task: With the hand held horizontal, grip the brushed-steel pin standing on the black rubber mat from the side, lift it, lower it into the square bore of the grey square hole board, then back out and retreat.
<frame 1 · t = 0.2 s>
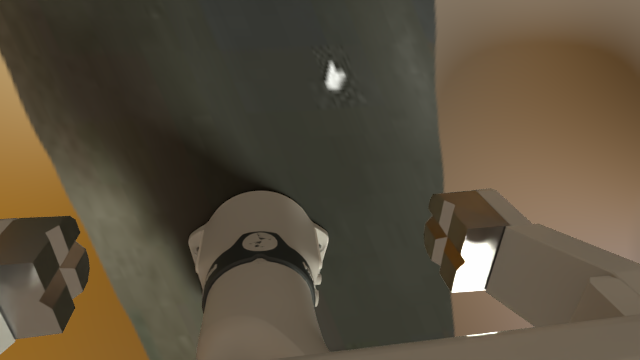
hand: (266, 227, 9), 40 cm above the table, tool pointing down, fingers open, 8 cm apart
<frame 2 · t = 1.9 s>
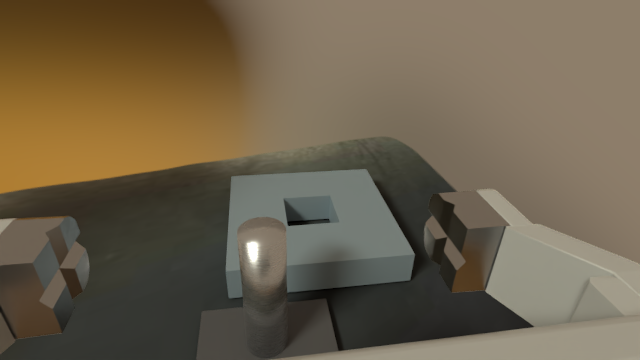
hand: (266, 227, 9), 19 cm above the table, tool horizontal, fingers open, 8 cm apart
grey square hole board: (309, 233, 41), on the table
steel pin: (267, 340, 29), resting on rubber mat
rubber mat: (267, 344, 29), on the table
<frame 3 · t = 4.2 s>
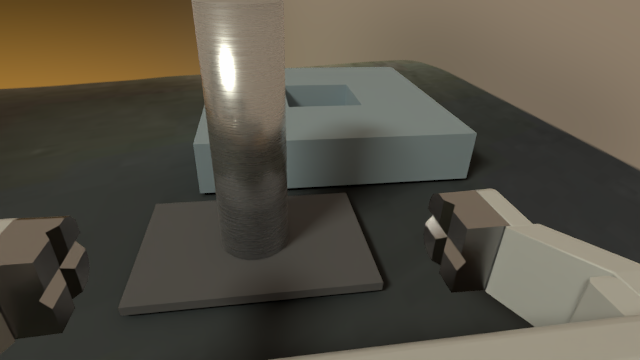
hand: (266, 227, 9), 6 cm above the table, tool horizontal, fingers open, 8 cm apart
grey square hole board: (318, 133, 30), on the table
steel pin: (255, 238, 18), resting on rubber mat
rubber mat: (256, 245, 18), on the table
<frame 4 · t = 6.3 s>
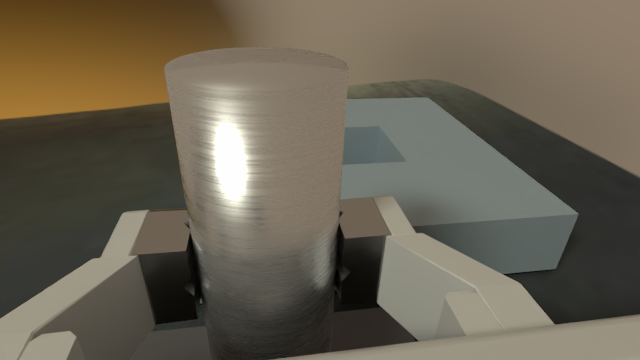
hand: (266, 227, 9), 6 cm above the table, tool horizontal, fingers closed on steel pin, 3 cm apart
grey square hole board: (345, 189, 24), on the table
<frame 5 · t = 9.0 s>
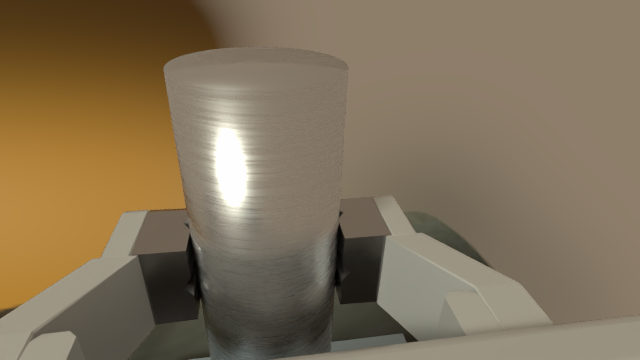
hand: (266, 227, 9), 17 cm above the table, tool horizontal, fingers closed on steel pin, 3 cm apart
when the fingers open (8 cm above the table, at t = 11.5 s): steel pin drops 2 cm, resting in grey square hole board.
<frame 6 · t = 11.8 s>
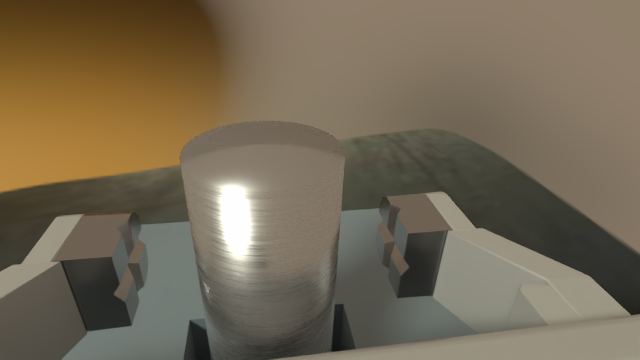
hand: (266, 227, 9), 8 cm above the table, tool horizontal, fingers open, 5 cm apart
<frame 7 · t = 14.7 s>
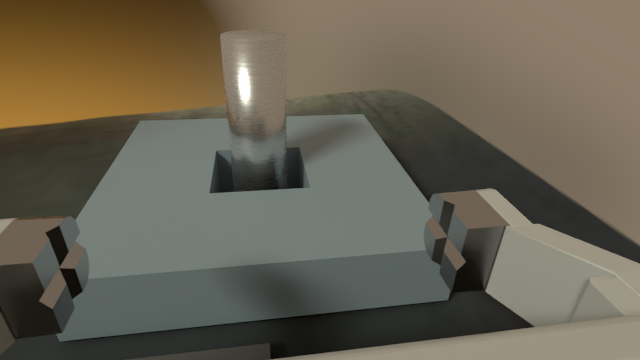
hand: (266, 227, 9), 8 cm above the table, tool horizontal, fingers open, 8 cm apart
grey square hole board: (261, 212, 23), on the table
steel pin: (262, 213, 23), resting in grey square hole board
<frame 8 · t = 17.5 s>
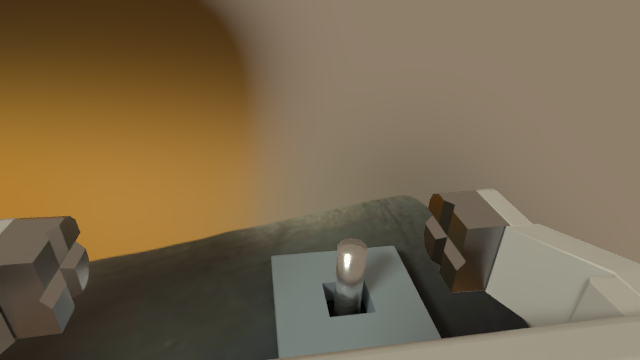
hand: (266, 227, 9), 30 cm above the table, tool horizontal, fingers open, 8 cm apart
grey square hole board: (346, 316, 45), on the table
steel pin: (346, 316, 45), resting in grey square hole board
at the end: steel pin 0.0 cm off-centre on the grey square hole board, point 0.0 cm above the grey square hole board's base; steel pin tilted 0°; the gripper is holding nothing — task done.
